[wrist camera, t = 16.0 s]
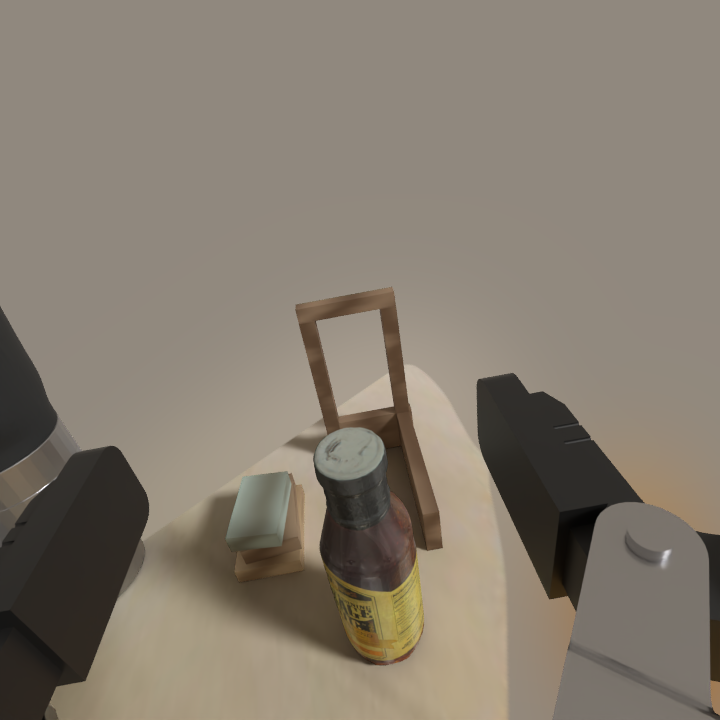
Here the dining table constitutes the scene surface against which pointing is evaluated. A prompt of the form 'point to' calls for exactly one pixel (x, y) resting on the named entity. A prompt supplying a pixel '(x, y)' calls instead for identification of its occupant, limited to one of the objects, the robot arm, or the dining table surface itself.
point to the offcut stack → (267, 527)
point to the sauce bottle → (368, 547)
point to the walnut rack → (385, 422)
